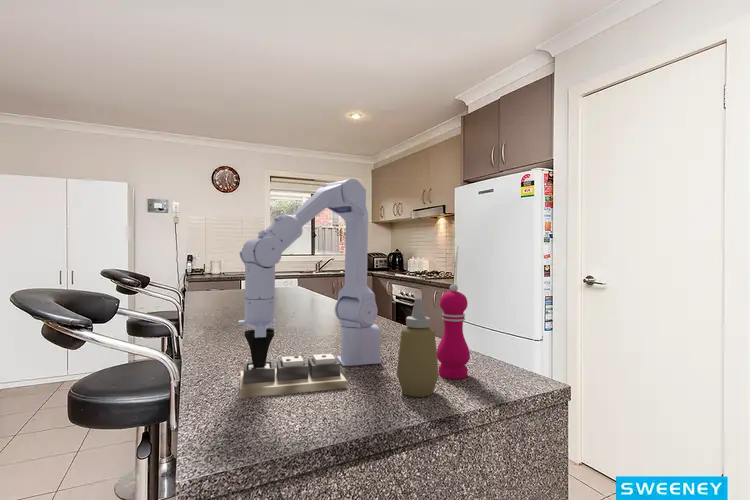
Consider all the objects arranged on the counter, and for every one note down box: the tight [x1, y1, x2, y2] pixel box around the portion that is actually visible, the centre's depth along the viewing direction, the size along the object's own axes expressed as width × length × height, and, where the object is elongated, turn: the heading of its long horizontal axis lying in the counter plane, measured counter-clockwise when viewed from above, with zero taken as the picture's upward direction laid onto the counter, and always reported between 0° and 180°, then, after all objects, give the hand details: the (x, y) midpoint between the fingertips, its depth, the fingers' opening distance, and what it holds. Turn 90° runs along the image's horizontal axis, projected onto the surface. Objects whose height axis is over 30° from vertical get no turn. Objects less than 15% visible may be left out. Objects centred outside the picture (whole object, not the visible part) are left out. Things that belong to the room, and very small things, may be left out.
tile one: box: [312, 353, 336, 365], centre depth 83 cm, size 4×4×2 cm
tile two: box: [281, 355, 304, 367], centre depth 81 cm, size 4×4×2 cm
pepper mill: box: [436, 283, 471, 380], centre depth 87 cm, size 7×7×20 cm
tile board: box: [238, 356, 348, 399], centre depth 81 cm, size 20×12×4 cm, turn 107°
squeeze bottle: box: [396, 297, 440, 398], centre depth 76 cm, size 8×8×18 cm
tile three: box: [249, 364, 270, 370], centre depth 79 cm, size 4×4×2 cm
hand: (259, 366), depth 79 cm, fingers closed, pressing on tile three
